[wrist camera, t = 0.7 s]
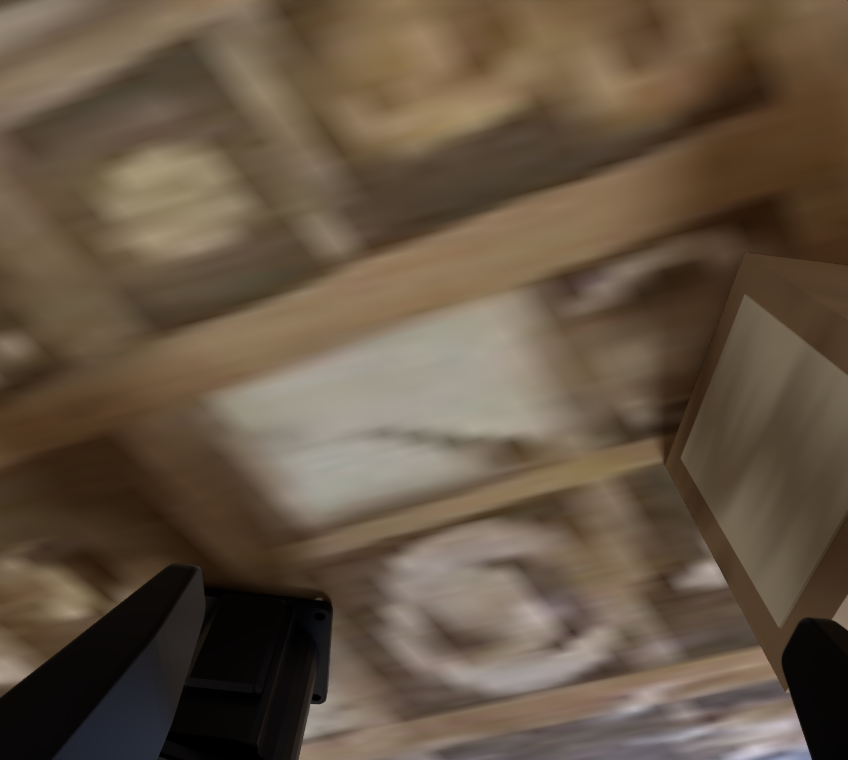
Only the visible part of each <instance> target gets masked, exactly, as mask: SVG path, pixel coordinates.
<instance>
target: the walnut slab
mask: <svg viewBox="0 0 848 760" xmlns="http://www.w3.org/2000/svg"><path fill="white" fill-rule="evenodd" d="M665 466H666V468H667V470H668V472H669V474H670V476H671V478H672V480H673V482H674V483H675V485H676V487H677V489H678V491H679V493H680V495H681V497H682V498H683V500H684V502H685V504H686V506H687V508H688V510H689V512H690V514H691V515H692V517H693V519H694V521H695V523H696V525H697V527H698V529H699V531H700V532H701V534H702V536H703V538H704V540H705V542H706V544H707V546H708V548H709V549H710V551H711V553H712V555H713V557H714V559H715V561H716V563H717V564H718V566H719V568H720V570H721V572H722V574H723V576H724V578H725V580H726V581H727V583H728V585H729V587H730V589H731V591H732V593H733V595H734V597H735V598H736V600H737V602H738V604H739V606H740V608H741V610H742V612H743V614H744V615H745V617H746V619H747V621H748V623H749V625H750V627H751V629H752V630H753V632H754V634H755V636H756V638H757V640H758V642H759V644H760V646H761V647H762V649H763V651H764V653H765V655H766V657H767V659H768V661H769V663H770V664H771V666H772V668H773V670H774V672H775V674H776V676H777V678H778V679H779V681H780V683H781V685H782V687H783V689H784V691H785V692H786V693H790V692H789V689H788V686H787V683H786V680H785V676H784V673H783V670H782V664H781V657H782V652H783V650H784V648H785V646H786V644H787V642H788V640H789V639H790V637H791V635H792V633H793V631H794V629H795V627H796V625H797V623H798V622H799V621H800V620H801V619H803V618H805V617H813V618H825V619H831V620H833V621H836V622H837V623H839V624H840V625H841V626H843V627H844V628H845V629H847V630H848V265H841V264H833V263H825V262H817V261H809V260H801V259H793V258H785V257H778V256H770V255H762V254H754V253H746V252H745V254H744V256H743V259H742V261H741V264H740V267H739V269H738V272H737V275H736V277H735V280H734V283H733V285H732V288H731V291H730V293H729V296H728V299H727V301H726V304H725V307H724V309H723V312H722V314H721V317H720V320H719V322H718V325H717V328H716V330H715V333H714V336H713V338H712V341H711V344H710V346H709V349H708V352H707V354H706V357H705V360H704V362H703V365H702V368H701V370H700V373H699V375H698V378H697V381H696V383H695V386H694V389H693V391H692V394H691V397H690V399H689V402H688V405H687V407H686V410H685V413H684V415H683V418H682V421H681V423H680V426H679V428H678V431H677V434H676V436H675V439H674V442H673V444H672V447H671V450H670V452H669V455H668V458H667V460H666V463H665Z"/></svg>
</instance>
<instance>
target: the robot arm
mask: <svg viewBox="0 0 848 760" xmlns="http://www.w3.org/2000/svg"><path fill="white" fill-rule="evenodd" d="M319 612H320V613H319ZM332 618H333V608H332V606H331V605H330V604H329V603H327V602H325V601H319V600H310V599H301V598H292V597H283V596H274V595H265V594H256V593H247V592H238V591H229V590H220V589H211V588H204V586H203V577H202V571H201V569H200V567H199V566H197V565H190V564H178V563H174V564H171V565H169V566H167V567H166V568H165V569H163V570H162V571H161V572H159V573H158V574H157V575H156V576H154V577H153V578H152V579H151V580H149V581H148V582H147V583H145V584H144V585H143V586H142V587H140V588H139V589H138V590H137V591H135V592H134V593H133V594H132V595H130V596H129V597H128V598H126V599H125V600H124V601H123V602H121V603H120V604H119V605H118V606H116V607H115V608H114V609H112V610H111V611H110V612H109V613H107V614H106V615H105V616H104V617H102V618H101V619H100V620H98V621H97V622H96V623H95V624H93V625H92V626H91V627H90V628H88V629H87V630H86V631H84V632H83V633H82V634H81V635H79V636H78V637H77V638H76V639H74V640H73V641H72V642H70V643H69V644H68V645H67V646H65V647H64V648H63V649H62V650H60V651H59V652H58V653H56V654H55V655H54V656H53V657H51V658H50V659H49V660H48V661H46V662H45V663H44V664H42V665H41V666H40V667H39V668H37V669H36V670H35V671H34V672H32V673H31V674H30V675H28V676H27V677H26V678H25V679H23V680H22V681H21V682H20V683H18V684H17V685H16V686H14V687H13V688H12V689H11V690H9V691H8V692H7V693H6V694H4V695H3V696H2V697H0V760H298V759H299V755H300V750H301V745H302V741H303V736H304V731H305V727H306V722H307V717H308V713H309V708H310V704H321V703H324V702H325V701H326V698H327V692H328V680H329V664H330V649H331V633H332ZM781 664H782V670H783V673H784V676H785V680H786V683H787V686H788V689H789V692H790V695H791V698H792V701H793V704H794V707H795V710H796V713H797V716H798V719H799V722H800V725H801V728H802V731H803V734H804V737H805V740H806V743H807V746H808V749H809V752H810V755H811V758H812V760H848V630H847V629H845V628H844V627H843V626H841V625H840V624H839V623H837V622H836V621H833V620H831V619H825V618H813V617H805V618H803V619H801V620H800V621H799V622H798V623H797V625H796V627H795V629H794V631H793V633H792V635H791V637H790V639H789V640H788V642H787V644H786V646H785V648H784V650H783V652H782V657H781Z"/></svg>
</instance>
